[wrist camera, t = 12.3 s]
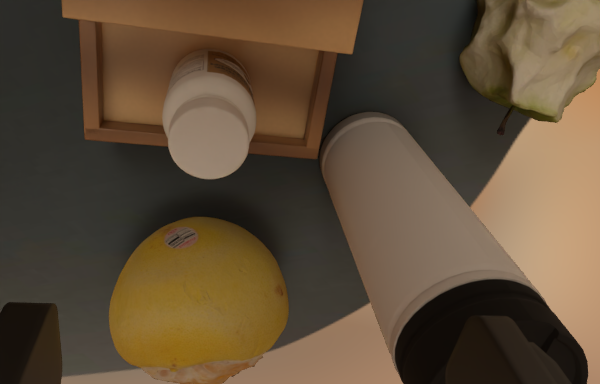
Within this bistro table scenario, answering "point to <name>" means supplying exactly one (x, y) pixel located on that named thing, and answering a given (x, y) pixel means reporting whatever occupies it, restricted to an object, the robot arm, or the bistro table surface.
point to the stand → (222, 36)
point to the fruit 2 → (533, 54)
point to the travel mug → (427, 253)
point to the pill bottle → (209, 114)
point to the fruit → (198, 302)
